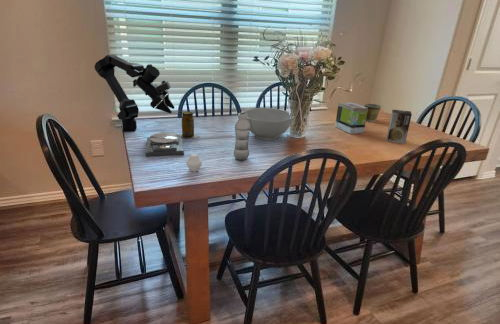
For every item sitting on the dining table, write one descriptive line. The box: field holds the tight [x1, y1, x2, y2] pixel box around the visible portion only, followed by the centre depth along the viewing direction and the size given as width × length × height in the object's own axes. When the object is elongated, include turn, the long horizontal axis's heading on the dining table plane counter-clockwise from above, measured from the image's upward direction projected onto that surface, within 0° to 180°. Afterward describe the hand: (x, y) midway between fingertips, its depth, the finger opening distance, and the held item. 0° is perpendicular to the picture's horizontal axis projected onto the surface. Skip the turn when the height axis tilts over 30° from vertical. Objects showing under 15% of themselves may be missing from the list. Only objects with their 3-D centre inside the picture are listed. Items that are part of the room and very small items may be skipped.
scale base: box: [145, 135, 185, 158], centre depth 148 cm, size 16×20×3 cm
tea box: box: [334, 101, 368, 135], centre depth 185 cm, size 15×10×15 cm, turn 20°
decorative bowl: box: [241, 107, 295, 141], centre depth 168 cm, size 27×27×12 cm
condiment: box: [178, 111, 200, 140], centre depth 164 cm, size 7×8×12 cm
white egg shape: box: [185, 153, 203, 173], centre depth 126 cm, size 6×6×7 cm
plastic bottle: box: [233, 112, 251, 161], centre depth 137 cm, size 6×7×20 cm
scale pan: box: [149, 131, 180, 144], centre depth 150 cm, size 13×13×1 cm
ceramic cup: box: [363, 103, 382, 123], centre depth 208 cm, size 13×10×10 cm
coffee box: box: [386, 109, 413, 145], centre depth 169 cm, size 9×6×16 cm
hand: (172, 110), depth 161 cm, fingers open, 9 cm apart
